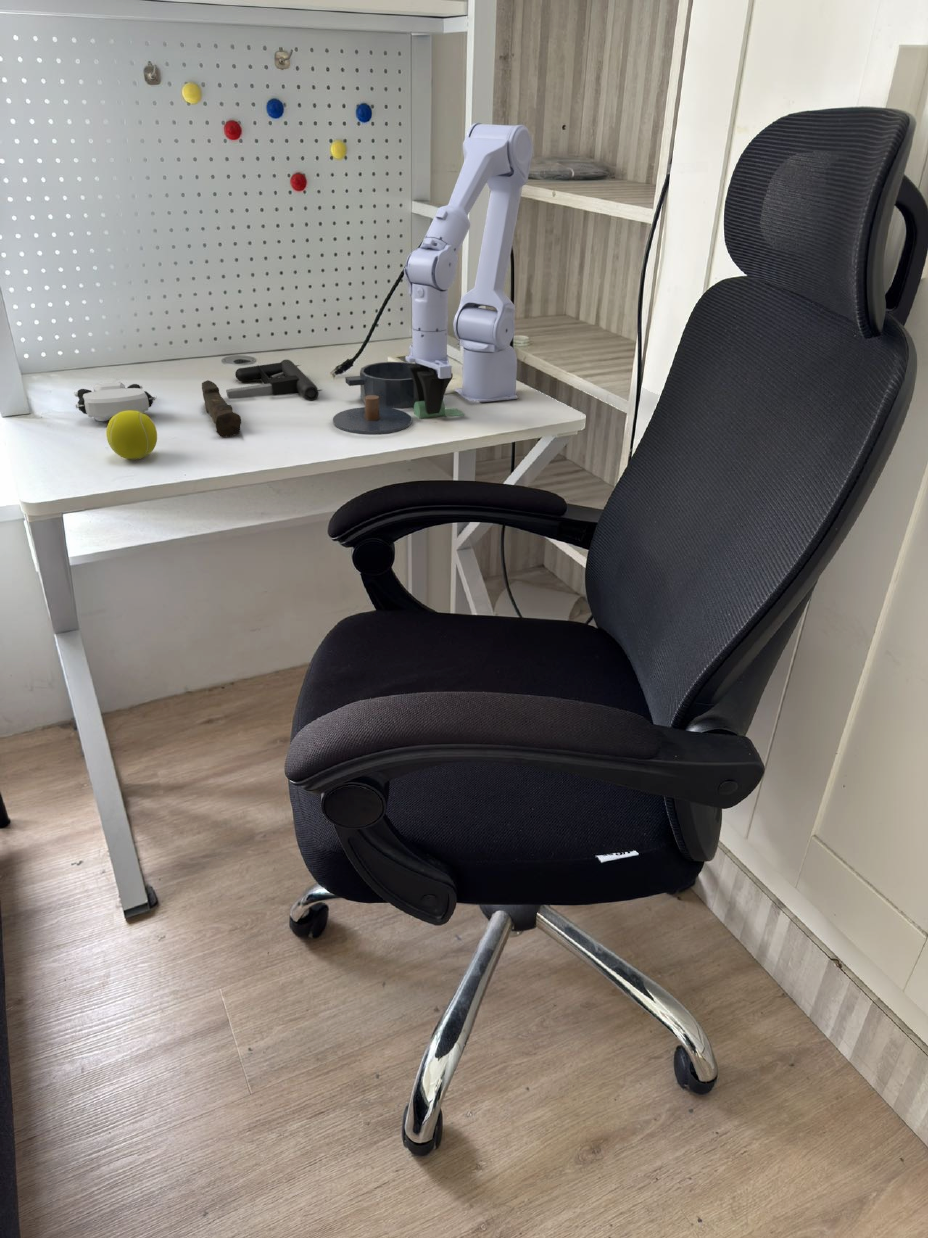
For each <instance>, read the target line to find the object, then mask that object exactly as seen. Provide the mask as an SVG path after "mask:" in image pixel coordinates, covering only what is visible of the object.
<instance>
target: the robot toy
mask: <svg viewBox="0 0 928 1238" xmlns="http://www.w3.org/2000/svg"><path fill="white" fill-rule="evenodd" d="M73 396H75V397H76V398H78V401H77V403H76V404H75V408H76V409H78V410H79V411H80V412H82V414H84V415H87V416H88V417H89V418H93V419H94V420H96V421H99V422H107V421H110V419H111V418H112V417H113V416H114V415H116V414H118V413H119V412H122V411H128V410H133V411H139V412H142V413H143V414H144V413H145V412H148V411H149V408H151V407H152V405H153V403H154V401H156V399H158V398H157V395H154V396H152V394H150V393H149V392H148V391H147V390H144V389H143V385H140V384H137V383H132V384H129V385H128V386H127V387H126V385H125V384H124V383H122V382H121V381H106V382H105V381H104V382H100V383H96V384H95V386H94V387H93V391H92V390H91V389H88V388H87V389H86V388H80V389H78V390H77V391H74V392H73Z"/></svg>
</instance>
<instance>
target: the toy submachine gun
mask: <svg viewBox="0 0 928 1238" xmlns="http://www.w3.org/2000/svg"><path fill="white" fill-rule="evenodd" d="M299 366H301V364H297V365H296V364H295V363H294V362H293V361H292V360H290V359H283V360H281V361H280V362H275V363H266V364H261V365H253V366H246V367H239V368H237V369H236V371H235V372H234V373H235V375H234V376H235V378H236V380H237V381H239V382H242V383H245V382H251V381H252V382H253V381H259V380H260V381H261V383H263V384H256V385H248V386H242V387H236V388H235V387H234V388H229V389H228V388H227V389H226V390H225V391H226V397H227V398H228V399H240V398H251V397H261V396H272V395H273V396H283V395H293V394H294V395H295V394H296V395H297V394H300V395H301V397H302V398H303V399H305V400H307V401H315V400H316V399H317V398H318V397H319V392H321V391H322V389H318V387H317V385H315V383H313V381H312V380H311V379H309V377H308V376H306V374H305V373H304V372H303V371H302V369H300V368H299Z"/></svg>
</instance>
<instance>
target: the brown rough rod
mask: <svg viewBox="0 0 928 1238" xmlns="http://www.w3.org/2000/svg"><path fill="white" fill-rule="evenodd" d="M201 391H202V397H203V401H204V408H205V412H206V413H207V414H209V416H210V417H211V419H212V420H213V421H212V422H213V423H214V424H215V430H216V431H215V432H216V434H218V436H219V437H221V438H227V437H228V438H230V437H234V436H235V435H238V434H239V433H240V432H241V425H242V418H241V416H240V414H238V413H236V412H234V411H233V407H232V405H231V404H228V403H227V402H226V400H225V398H223V396H222V395H221V393H220V388H219V386H218V385H217V384H216V383H215V382H213V381H211V380H209V379H208V380H204V381H203V382H201Z"/></svg>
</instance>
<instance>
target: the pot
mask: <svg viewBox="0 0 928 1238" xmlns="http://www.w3.org/2000/svg"><path fill="white" fill-rule="evenodd" d="M410 364H415V362H408V361H383V362H382V361H381V362H380V361H379V362H374V363H369V364H366V365H365V366H362V367H361V368H360V371H359V375H352V376H345V379H344V380H345V381H344V382H345V384H347V385H348V386H349V387H353V386H354V387H355V386H360V400H361V401H362V402H363V404H365V399H364V397H365V396H368V395H376V396H379V407H384V408H392V409H396V410H400V409H411V408H414V404H415V402H418V399H417V394H416V389H415V385H414V382H413V379H412V377H411V374H410V372H409V370H408V368H407V365H410Z"/></svg>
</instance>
